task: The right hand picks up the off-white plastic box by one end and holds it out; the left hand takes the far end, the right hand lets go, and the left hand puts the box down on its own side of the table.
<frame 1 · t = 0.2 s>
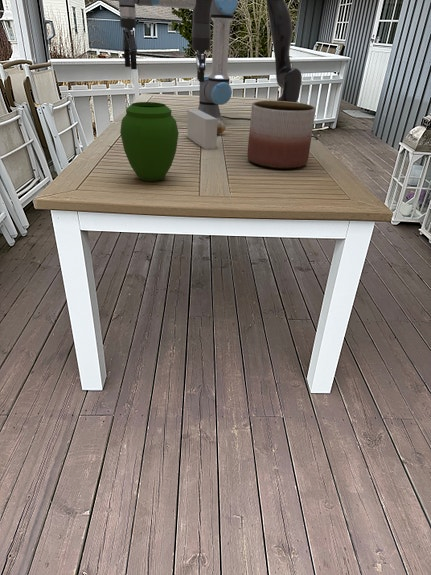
left hand: (130, 68, 208), 28 cm above the table, tool pointing down, fingers open, 13 cm apart
right hand: (200, 80, 175), 27 cm above the table, tool pointing down, fingers open, 8 cm apart
planter: (276, 162, 173), on the table
box: (201, 142, 197), on the table
seashell: (216, 134, 214), on the table
vase: (151, 178, 146), on the table
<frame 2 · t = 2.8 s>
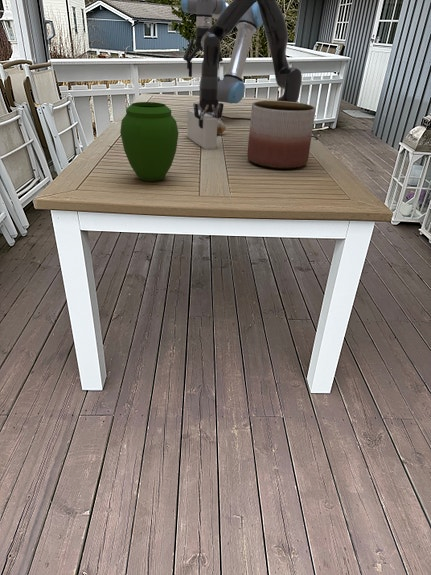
left hand: (202, 76, 209), 26 cm above the table, tool pointing down, fingers open, 13 cm apart
right hand: (207, 127, 187), 8 cm above the table, tool pointing down, fingers closed on box, 5 cm apart
box: (201, 142, 197), on the table, touching right hand
everything else where it was.
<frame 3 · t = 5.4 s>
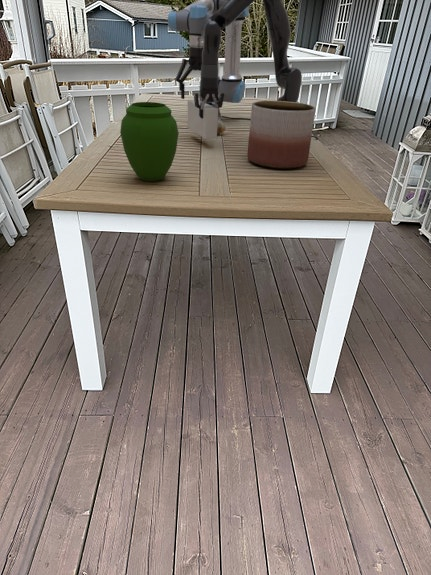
left hand: (196, 98, 195), 18 cm above the table, tool pointing down, fingers open, 13 cm apart
right hand: (208, 117, 184), 13 cm above the table, tool pointing down, fingers closed on box, 5 cm apart
box: (201, 133, 195), point 4 cm above the table, touching right hand
everything else where it was.
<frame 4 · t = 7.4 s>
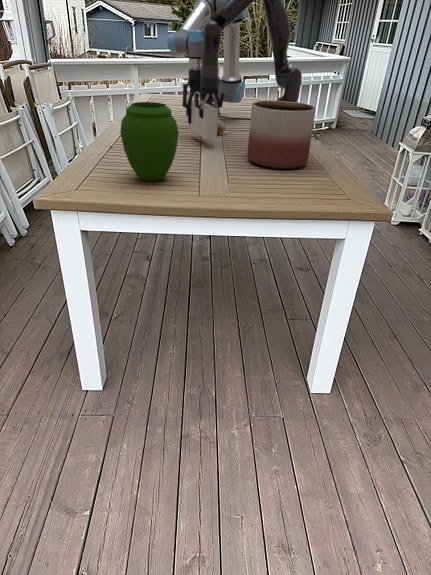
left hand: (195, 122, 199), 7 cm above the table, tool pointing down, fingers closed on box, 6 cm apart
right hand: (208, 117, 184), 13 cm above the table, tool pointing down, fingers closed on box, 5 cm apart
box: (201, 133, 195), point 4 cm above the table, touching left hand, right hand
everything else where it was.
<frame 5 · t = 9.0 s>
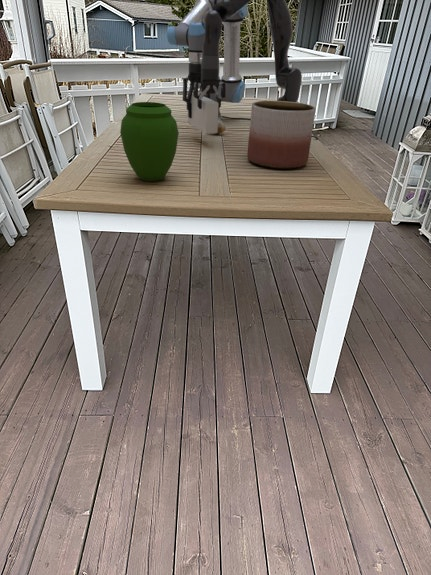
left hand: (196, 117, 198), 10 cm above the table, tool pointing down, fingers closed on box, 6 cm apart
right hand: (209, 108, 181), 17 cm above the table, tool pointing down, fingers open, 8 cm apart
box: (201, 127, 194), point 7 cm above the table, touching left hand
everything else where it was.
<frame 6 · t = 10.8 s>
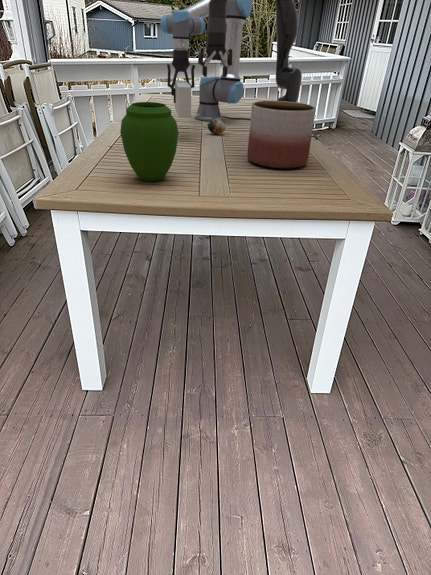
left hand: (181, 102, 204), 15 cm above the table, tool pointing down, fingers closed on box, 6 cm apart
right hand: (214, 76, 171), 30 cm above the table, tool pointing down, fingers open, 8 cm apart
box: (182, 112, 200), point 11 cm above the table, touching left hand
everything else where it was.
when the left hand's fingers open (4 cm above the table, at t = 14.1 s): box drops 1 cm, on the table.
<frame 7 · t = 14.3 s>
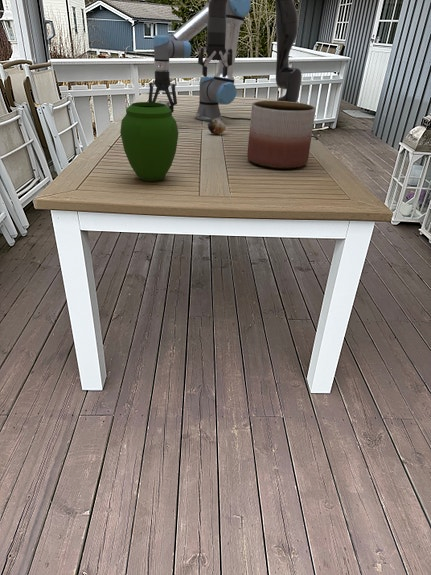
left hand: (163, 118, 221), 5 cm above the table, tool pointing down, fingers open, 8 cm apart
right hand: (214, 76, 171), 30 cm above the table, tool pointing down, fingers open, 8 cm apart
box: (159, 130, 217), on the table
everything else where it was.
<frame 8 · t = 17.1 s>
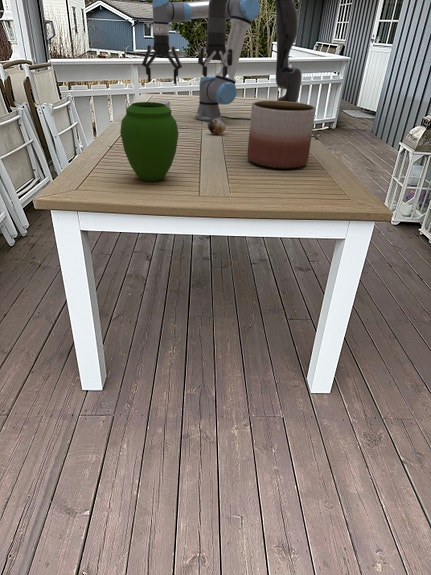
left hand: (162, 82, 211), 22 cm above the table, tool pointing down, fingers open, 13 cm apart
right hand: (214, 76, 171), 30 cm above the table, tool pointing down, fingers open, 8 cm apart
nothing on the table moved.
at the end: box inside the target area (7.8 cm from its centre), on the table; the left hand is holding nothing; the right hand is holding nothing; box at rest at the end (0.0 cm/s) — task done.
